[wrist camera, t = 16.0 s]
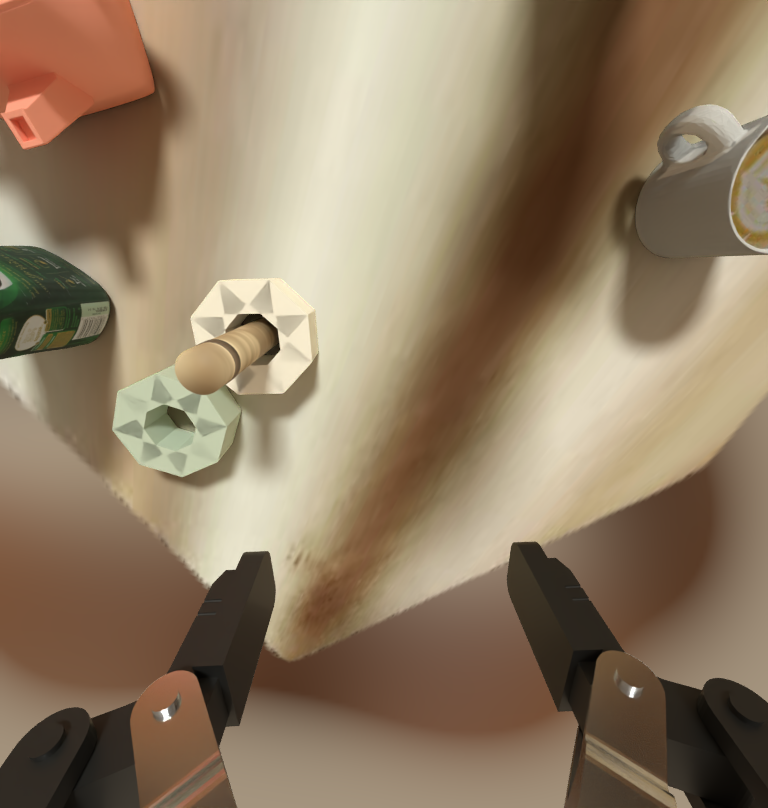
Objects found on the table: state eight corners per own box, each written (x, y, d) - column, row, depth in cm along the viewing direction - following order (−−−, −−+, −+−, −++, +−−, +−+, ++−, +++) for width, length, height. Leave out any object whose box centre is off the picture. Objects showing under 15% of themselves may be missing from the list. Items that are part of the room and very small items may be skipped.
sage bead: (203, 350, 39) (183, 360, 35) (256, 433, 43) (243, 451, 39) (120, 389, 40) (91, 403, 36) (178, 466, 44) (157, 487, 40)
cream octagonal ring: (312, 277, 37) (304, 278, 33) (320, 379, 41) (315, 392, 36) (204, 279, 36) (182, 281, 32) (223, 382, 40) (206, 395, 36)
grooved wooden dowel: (280, 316, 38) (220, 346, 23) (284, 347, 39) (229, 394, 24) (249, 317, 38) (168, 348, 23) (253, 347, 39) (180, 396, 24)
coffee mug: (751, 210, 36) (884, 190, 27) (660, 278, 38) (754, 281, 29) (699, 82, 32) (834, 5, 23) (601, 165, 34) (687, 127, 25)
